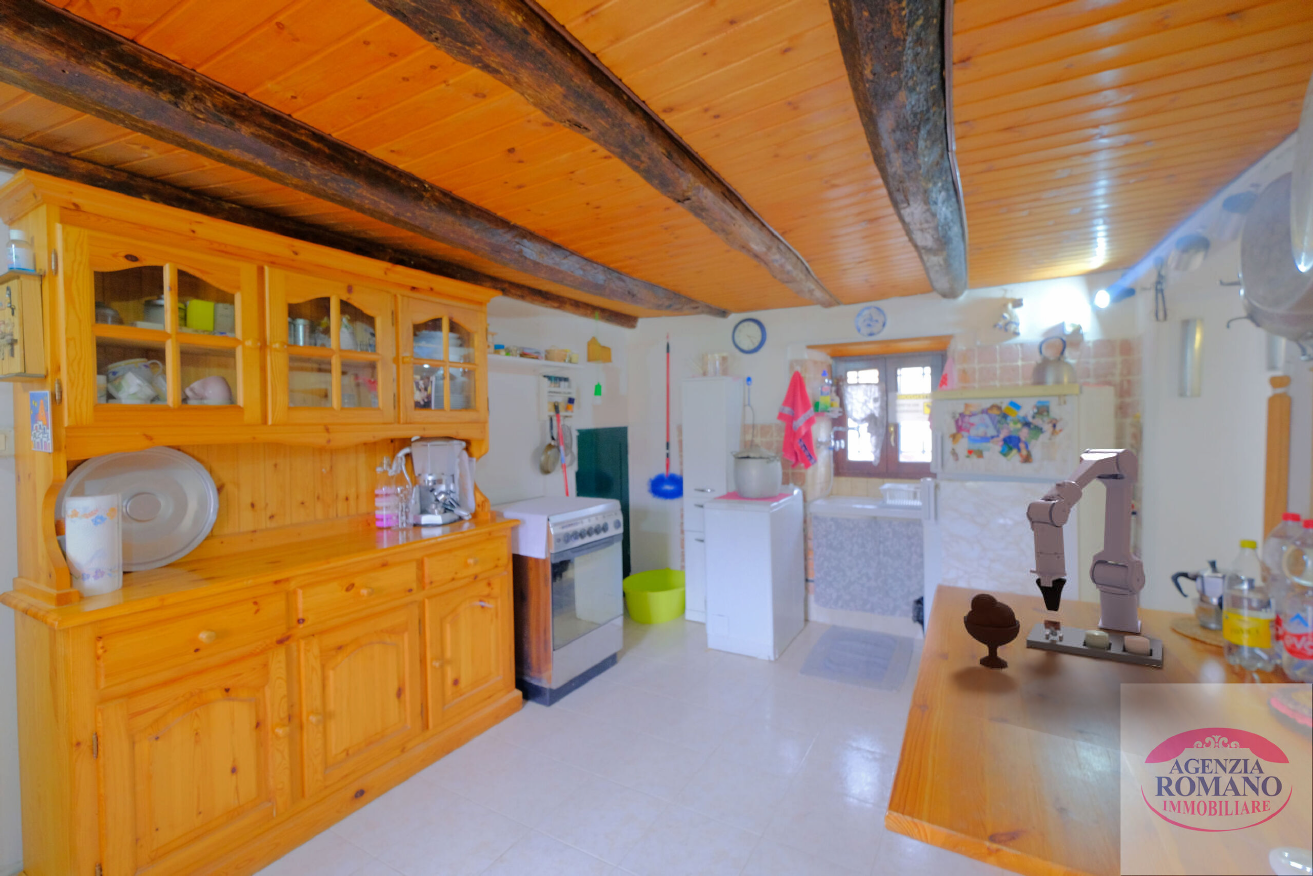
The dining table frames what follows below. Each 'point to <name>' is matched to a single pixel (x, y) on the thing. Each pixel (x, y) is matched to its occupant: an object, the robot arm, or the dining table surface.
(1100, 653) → the panel
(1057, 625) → the toggle lever
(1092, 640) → the sage button
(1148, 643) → the pinkish beige button
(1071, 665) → the dining table surface
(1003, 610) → the ice cream bowl
